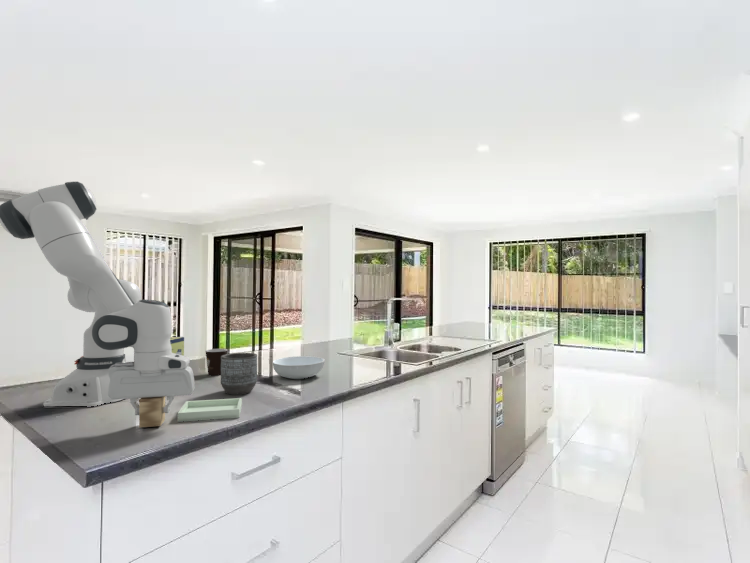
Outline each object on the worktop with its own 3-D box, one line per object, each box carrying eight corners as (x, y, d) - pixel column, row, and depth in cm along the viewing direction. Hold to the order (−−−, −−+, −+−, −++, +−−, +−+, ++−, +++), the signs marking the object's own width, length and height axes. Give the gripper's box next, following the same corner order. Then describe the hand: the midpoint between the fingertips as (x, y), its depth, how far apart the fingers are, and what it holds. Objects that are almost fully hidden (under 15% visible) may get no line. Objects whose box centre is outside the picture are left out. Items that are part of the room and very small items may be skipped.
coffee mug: (206, 372, 177) (206, 349, 178) (227, 371, 180) (227, 348, 180) (203, 378, 166) (203, 353, 167) (226, 377, 169) (226, 352, 169)
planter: (261, 387, 152) (261, 352, 152) (251, 396, 140) (251, 358, 140) (227, 387, 152) (228, 352, 152) (214, 396, 140) (215, 358, 140)
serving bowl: (280, 371, 182) (280, 355, 182) (327, 372, 181) (328, 356, 181) (265, 382, 161) (265, 364, 161) (319, 383, 160) (319, 365, 160)
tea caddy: (138, 427, 107) (138, 399, 107) (144, 421, 112) (144, 394, 112) (160, 425, 108) (161, 398, 109) (165, 419, 114) (165, 393, 114)
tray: (177, 421, 113) (177, 413, 113) (186, 409, 125) (186, 401, 125) (239, 417, 117) (239, 409, 117) (241, 405, 129) (242, 398, 129)
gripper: (104, 365, 105) (103, 420, 105) (192, 361, 110) (191, 414, 110) (113, 360, 111) (112, 412, 111) (195, 357, 116) (195, 407, 116)
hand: (152, 413), depth 110 cm, fingers closed on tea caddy, 5 cm apart
